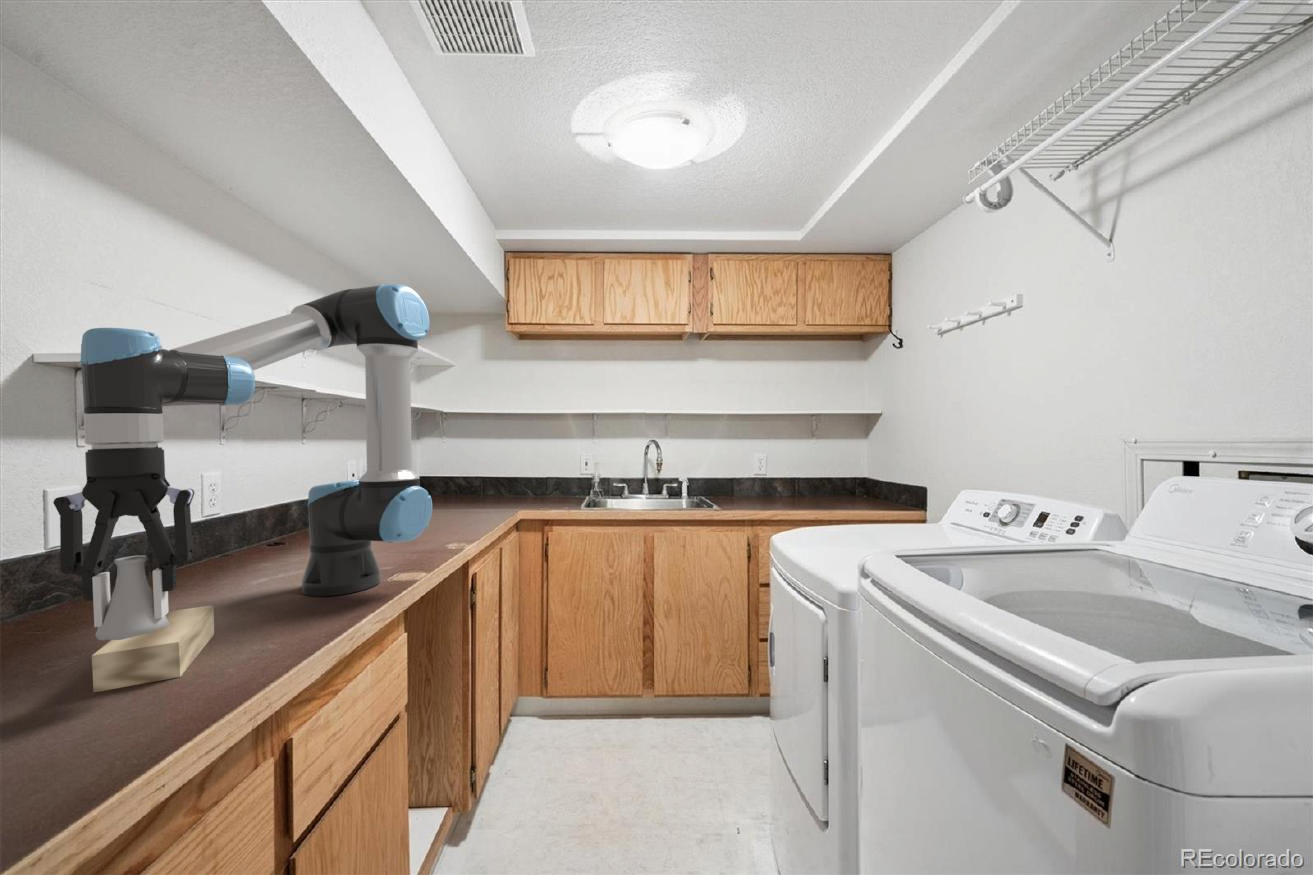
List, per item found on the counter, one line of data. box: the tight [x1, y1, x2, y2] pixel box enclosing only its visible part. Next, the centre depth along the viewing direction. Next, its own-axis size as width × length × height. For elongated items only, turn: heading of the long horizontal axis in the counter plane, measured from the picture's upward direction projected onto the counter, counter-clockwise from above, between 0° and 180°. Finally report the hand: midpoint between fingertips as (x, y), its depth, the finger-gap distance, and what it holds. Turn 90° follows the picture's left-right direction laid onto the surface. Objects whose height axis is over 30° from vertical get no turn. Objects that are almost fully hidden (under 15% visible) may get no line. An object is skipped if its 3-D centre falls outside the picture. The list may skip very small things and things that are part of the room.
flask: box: [94, 555, 170, 641], centre depth 73 cm, size 7×7×10 cm
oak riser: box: [91, 604, 215, 693], centre depth 83 cm, size 9×18×5 cm, turn 27°
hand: (132, 619), depth 73 cm, fingers closed on flask, 5 cm apart
